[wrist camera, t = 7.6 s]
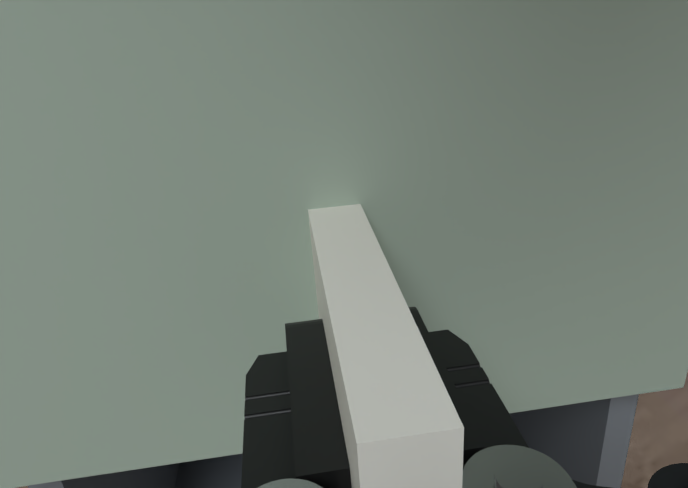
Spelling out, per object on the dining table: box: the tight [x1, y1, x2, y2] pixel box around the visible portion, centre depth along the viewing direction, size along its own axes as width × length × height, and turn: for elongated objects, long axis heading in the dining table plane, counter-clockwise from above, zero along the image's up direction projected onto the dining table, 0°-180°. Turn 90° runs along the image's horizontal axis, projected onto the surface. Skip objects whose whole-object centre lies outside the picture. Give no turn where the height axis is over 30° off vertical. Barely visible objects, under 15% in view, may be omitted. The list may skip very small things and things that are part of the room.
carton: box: [28, 394, 639, 488], centre depth 20 cm, size 16×16×10 cm
